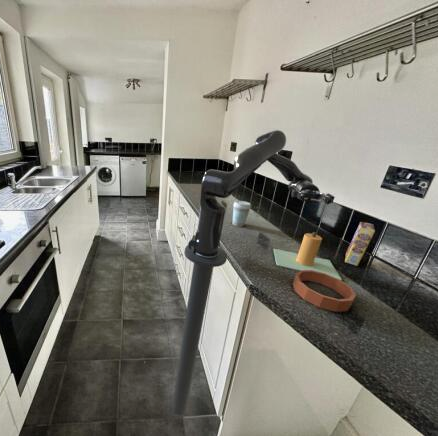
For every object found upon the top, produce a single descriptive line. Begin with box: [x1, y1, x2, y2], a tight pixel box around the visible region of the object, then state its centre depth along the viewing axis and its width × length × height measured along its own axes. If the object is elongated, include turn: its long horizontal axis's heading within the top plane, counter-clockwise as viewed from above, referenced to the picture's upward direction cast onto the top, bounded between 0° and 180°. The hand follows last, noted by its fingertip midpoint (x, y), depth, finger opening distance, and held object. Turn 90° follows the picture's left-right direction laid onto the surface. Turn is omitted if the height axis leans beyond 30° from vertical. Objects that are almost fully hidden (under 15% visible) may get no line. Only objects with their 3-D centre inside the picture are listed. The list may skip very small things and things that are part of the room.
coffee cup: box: [231, 200, 252, 227], centre depth 120 cm, size 8×9×12 cm
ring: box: [292, 270, 357, 313], centre depth 71 cm, size 15×15×4 cm
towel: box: [272, 248, 343, 281], centre depth 88 cm, size 20×14×1 cm
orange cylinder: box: [296, 231, 323, 266], centre depth 86 cm, size 5×5×12 cm
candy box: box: [344, 221, 376, 267], centre depth 90 cm, size 9×4×15 cm, turn 140°
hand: (315, 199), depth 89 cm, fingers open, 8 cm apart
